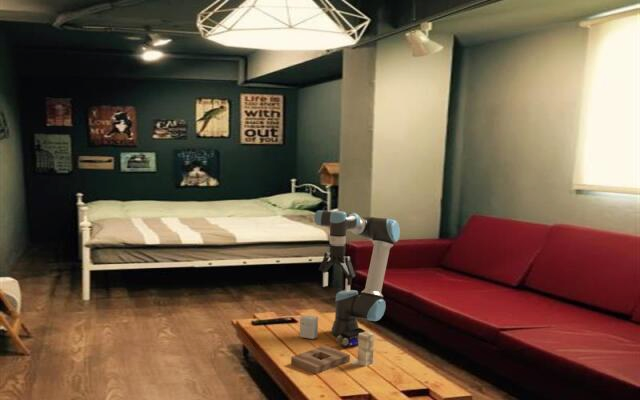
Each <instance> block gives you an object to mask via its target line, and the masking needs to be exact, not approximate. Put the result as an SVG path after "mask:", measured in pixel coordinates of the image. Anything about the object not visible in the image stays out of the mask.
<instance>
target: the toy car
mask: <svg viewBox="0 0 640 400" xmlns="http://www.w3.org/2000/svg"><path fill="white" fill-rule="evenodd" d="M365 331H366V332H368V331H367V330H365V329H363V328H361V327H359V328H357V329H353V330H349V331H346V332H342V336H338V337H336V339H335V341H336V343H339V344H340V343H341V345H340V346H341V347H344V349H346V348H347V349H348V348H349V347H350V346H353V345H358V337H359V333H362V332H365ZM353 336H356V337H353ZM350 337H353V338H350Z"/></svg>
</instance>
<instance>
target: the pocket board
mask: <svg viewBox="0 0 640 400" xmlns="http://www.w3.org/2000/svg"><path fill="white" fill-rule="evenodd" d="M290 358H291V359H290V363H291V366H294V367H297V368H299V369H301V370H304V371H307V372H309V373H312V374H314V375H319V374H321V373H324V372H326V370H327V371H329V369H330V370H332V369H335V368H337V367H340V366H343V365H346V364H350V363H351V361H350V360H351V355H350V354H349V353H346V352H345V351H344V352H343V351H341V350H339V349H336V348H332V347H329V346H327V345H322V346H319V347H316V348H313V349H311V350H307V351H304V352H301V353H299V354H296V355H292V356H291V357H290ZM320 359H321V360H320ZM323 371H324V372H323Z"/></svg>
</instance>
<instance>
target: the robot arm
mask: <svg viewBox="0 0 640 400" xmlns="http://www.w3.org/2000/svg"><path fill="white" fill-rule="evenodd" d="M313 219H314V223H315V224H316V225H317V226H321V227H328V228H329V248H328V249H329V250H328V251H327V252H325V253H324V255H323V259H322V261H321V264H319V268H318V270H319V271H320V272H321V278H322V287H323V288H325V287H328V286H329V285H328V284H329V272H328V271H329V269H330V268H331V267H332V265H337V266H339V267H341V269H342V271H343V273H344V275H345V277H346V278H345V289H344V290H341V291H338V292H337V293H336V295H335V300H334V301H335V314H334V315H335V316H334V321H333V324H332V326H331V335H332V336H334V337H336V338H337V337H338V336H342V332H346V331H349V330H353V329H357V328H360V327H359V323H358V319H362V320H367V321H370V322H371V321H373V322H377V321H380V320H381V319H382V317H383V316H384V314H385V311H386V301H385V300H384V295H383V294H382V289H383V285H384V284H383V283H384V280H385V274H386V269H387V265H388V259H389V254H390V249H391V248H392V247H393V246H394V245H395V243H397V242H398V241H399V239H400V236H401V229H400V225H399V223H398V221H396V220H395V219H390V218H386V217H385V218H382V217H374V216H373V217H372V216H360V215H358V214H357V213H356V212H346V211H343V210H332V211H330V210H324V209H323V210H316V212H315V214H314V217H313ZM347 232H351V233H352V234H353V235H357V236H360V237H363V238H367V239H371V242H372V244H373V248H372V254H371V259H370V263H369V266H368V267H369V268H368V271H367V272H368V274H367V278H366V283H365V288H364V289H363V290H362V291H360V294H359V292H358V290H354V289H351V286H352V281H353V278H355V277H356V273H355V271H354V270H355V269H354V267H353V264H352V262H351V256H346V255H345V254H346V246H347V245H346V243H347V241H346V240H347ZM357 318H358V319H357ZM354 337H356V336H353V337H350V339H351V338H354Z"/></svg>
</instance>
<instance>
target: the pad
mask: <svg viewBox="0 0 640 400" xmlns="http://www.w3.org/2000/svg"><path fill="white" fill-rule="evenodd" d="M357 362H358V359H357V360H354V361H350V364H352V365H354V366H356V365H357V366H359V365H360V364H358V363H357ZM377 363H378V362H376V361H374V360H373V364H377Z"/></svg>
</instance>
